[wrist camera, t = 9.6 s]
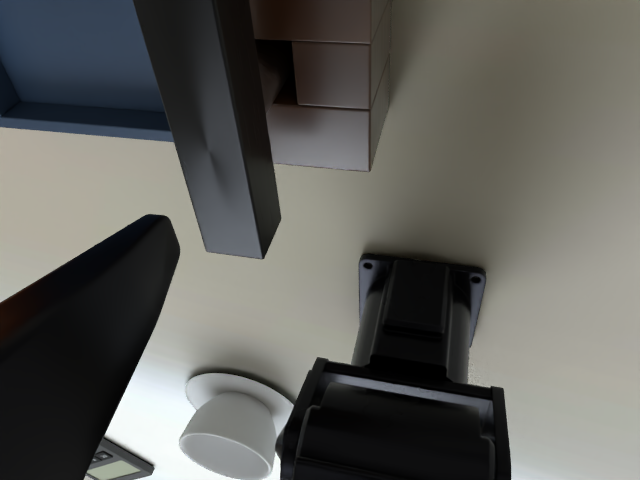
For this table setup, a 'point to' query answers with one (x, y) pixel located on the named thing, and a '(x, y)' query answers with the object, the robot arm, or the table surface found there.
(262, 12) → the rack
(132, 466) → the calculator
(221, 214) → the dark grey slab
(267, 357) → the table surface
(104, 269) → the robot arm
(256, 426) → the teacup
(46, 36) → the tray
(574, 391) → the table surface
